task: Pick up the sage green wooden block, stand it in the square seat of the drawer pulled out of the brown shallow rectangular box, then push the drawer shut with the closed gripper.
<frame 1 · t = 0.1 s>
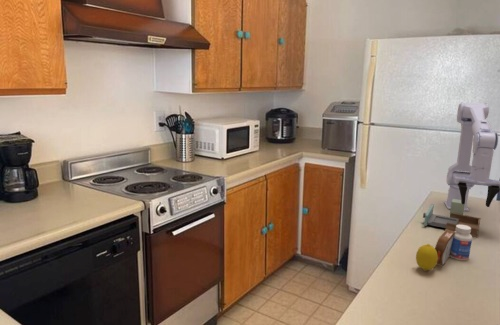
hand: (474, 204, 137), 10 cm above the counter, tool pointing down, fingers open, 7 cm apart
lemon: (424, 271, 111), on the counter
pill bottle: (458, 257, 120), on the counter, touching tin
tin: (443, 260, 118), on the counter, touching pill bottle
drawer: (440, 216, 146), point 3 cm above the counter, slide at 6.0 cm
block: (456, 218, 153), on the counter
brown shallow rectangular box: (462, 228, 142), on the counter
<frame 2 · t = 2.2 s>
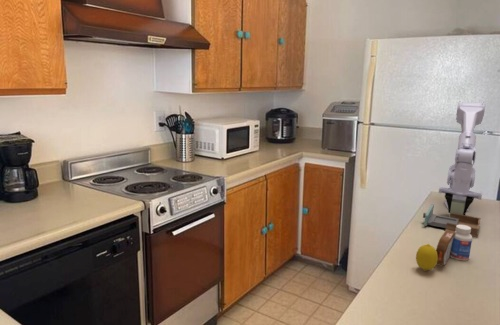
hand: (456, 213, 152), 2 cm above the counter, tool pointing down, fingers closed on block, 4 cm apart
block: (456, 218, 153), on the counter, touching gripper
everything else where it was.
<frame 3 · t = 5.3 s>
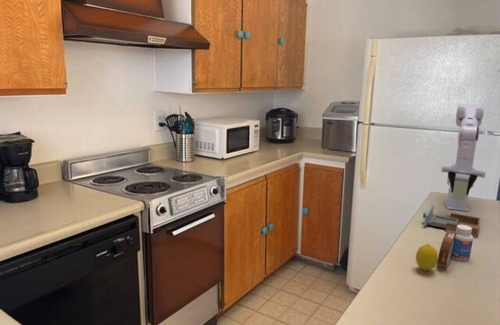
hand: (459, 192, 150), 10 cm above the counter, tool pointing down, fingers closed on block, 4 cm apart
block: (459, 197, 150), point 8 cm above the counter, touching gripper
when the fingers open (4 cm above the counter, at t = 8.3 s): block stays where it is, resting on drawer.
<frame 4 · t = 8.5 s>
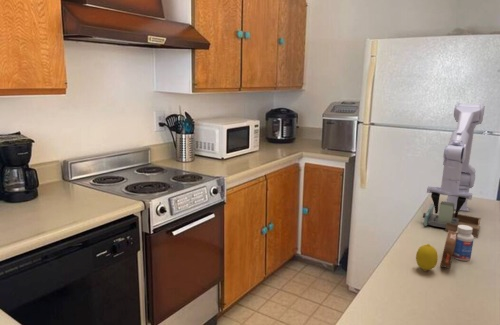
hand: (446, 214, 143), 5 cm above the counter, tool pointing down, fingers open, 6 cm apart
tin: (447, 262, 117), on the counter, touching pill bottle
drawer: (440, 216, 146), point 3 cm above the counter, slide at 6.0 cm, touching block
block: (444, 222, 144), point 2 cm above the counter, touching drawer
everything else where it was.
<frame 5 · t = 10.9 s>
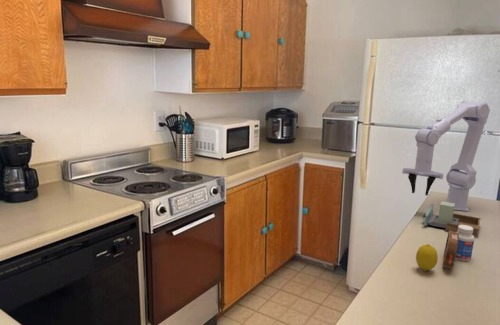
hand: (419, 193, 155), 8 cm above the counter, tool pointing down, fingers open, 4 cm apart
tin: (448, 262, 116), on the counter, touching pill bottle
everything else where it was.
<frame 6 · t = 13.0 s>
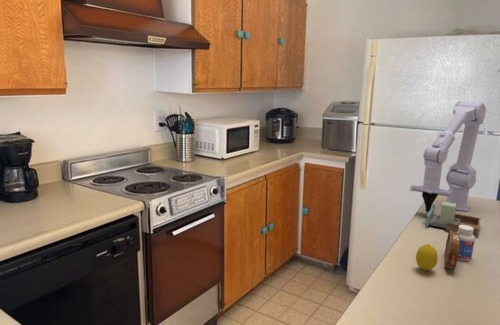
hand: (427, 211, 154), 2 cm above the counter, tool pointing down, fingers closed
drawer: (442, 217, 145), point 3 cm above the counter, slide at 5.5 cm, touching block, gripper
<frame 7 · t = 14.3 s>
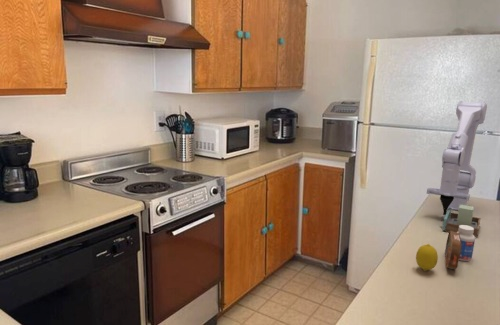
hand: (444, 214, 151), 2 cm above the counter, tool pointing down, fingers closed
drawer: (459, 220, 142), point 3 cm above the counter, slide at -0.1 cm, touching block, gripper
block: (463, 225, 141), point 2 cm above the counter, touching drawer
everything else where it was.
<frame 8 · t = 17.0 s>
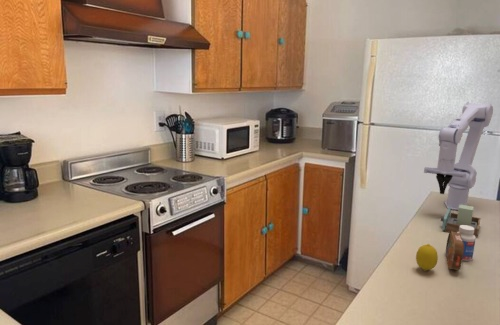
hand: (442, 193, 152), 9 cm above the counter, tool pointing down, fingers closed
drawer: (459, 220, 142), point 3 cm above the counter, slide at 0.0 cm, touching block
at the end: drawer slide at 0.0 cm; block inside the target area on the brown shallow rectangular box (0.2 cm from its centre), point 1.6 cm above the brown shallow rectangular box's base; block tilted 0° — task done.
